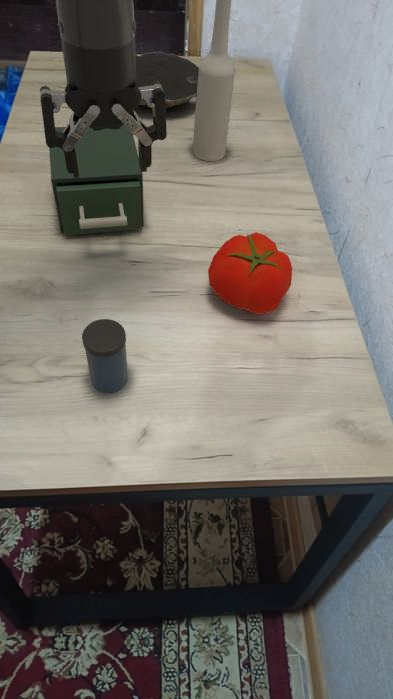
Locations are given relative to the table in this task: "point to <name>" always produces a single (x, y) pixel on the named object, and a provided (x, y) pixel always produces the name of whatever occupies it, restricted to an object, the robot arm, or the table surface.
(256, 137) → the table surface
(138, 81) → the rough clay dish
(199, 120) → the bottle
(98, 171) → the cabinet
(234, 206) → the table surface
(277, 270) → the tomato
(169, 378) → the table surface
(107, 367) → the plastic container
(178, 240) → the table surface
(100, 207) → the drawer
